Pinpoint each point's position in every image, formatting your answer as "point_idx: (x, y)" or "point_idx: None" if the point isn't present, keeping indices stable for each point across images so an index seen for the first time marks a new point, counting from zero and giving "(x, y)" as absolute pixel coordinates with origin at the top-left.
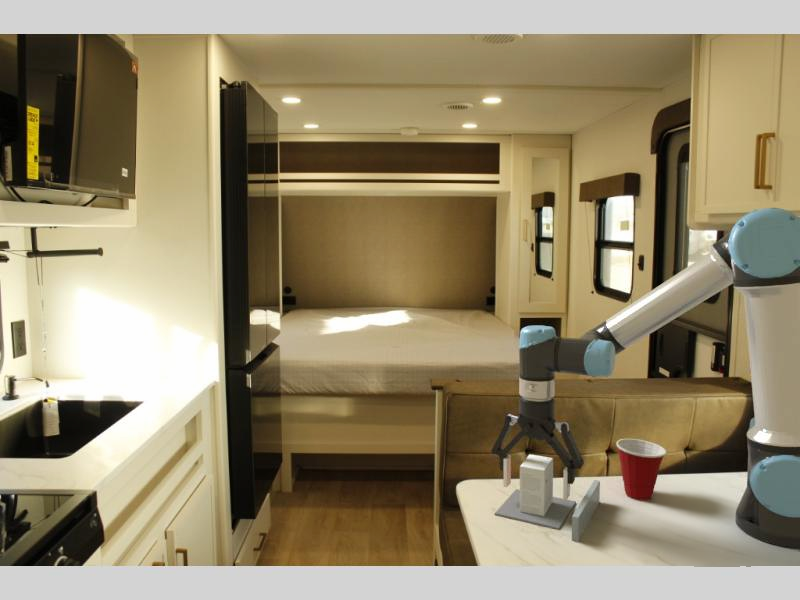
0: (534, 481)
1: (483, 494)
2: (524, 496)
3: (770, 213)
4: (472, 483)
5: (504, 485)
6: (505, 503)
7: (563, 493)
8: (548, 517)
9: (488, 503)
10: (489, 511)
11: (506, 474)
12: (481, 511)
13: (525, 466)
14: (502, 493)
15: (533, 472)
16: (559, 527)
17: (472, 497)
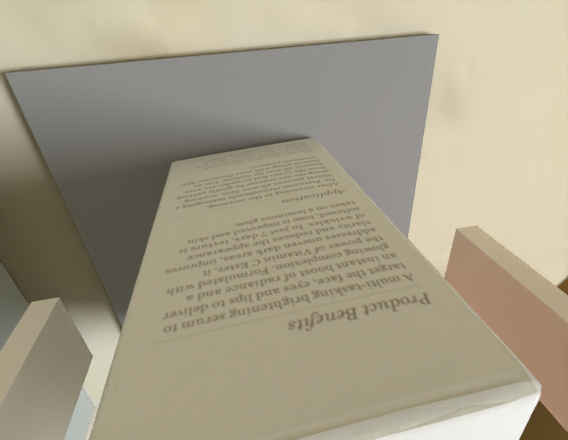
0: (248, 282)
1: (513, 212)
2: (311, 177)
3: None
4: (561, 265)
5: (476, 232)
6: (407, 181)
7: (38, 331)
8: (147, 168)
9: (483, 146)
10: (466, 62)
11: (529, 288)
12: (508, 34)
13: (452, 429)
14: (438, 263)
15: (280, 380)
16: (13, 89)
17: (560, 158)
